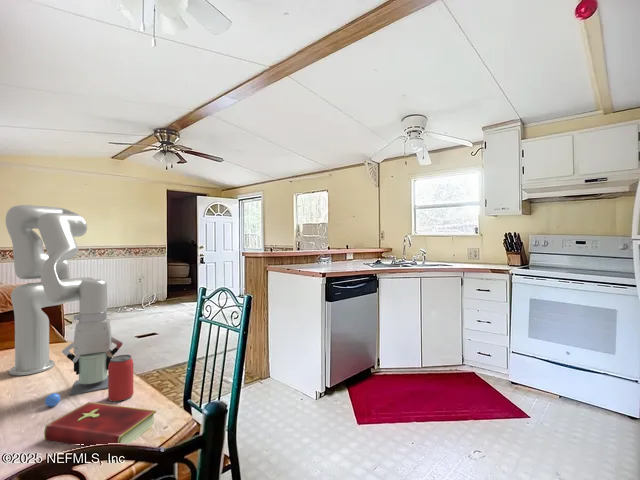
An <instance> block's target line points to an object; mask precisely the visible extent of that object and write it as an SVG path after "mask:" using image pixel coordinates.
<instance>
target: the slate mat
mask: <svg viewBox="0 0 640 480" xmlns="http://www.w3.org/2000/svg"><path fill="white" fill-rule="evenodd" d="M107 389H108V375H107V378H106V379H104V380H103V381H100V382H97V383H92V384H81V383H79V379H78V380H75V381H74V384H73V386H72V388H71V391H70V393H69V396H74V395H81V394H86V393H92V392H98V391H102V390H107Z"/></svg>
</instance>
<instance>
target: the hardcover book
mask: <svg viewBox="0 0 640 480" xmlns="http://www.w3.org/2000/svg"><path fill="white" fill-rule="evenodd" d="M156 413H157V410H154V409H145V408H137V407H130V406H123V405H122V406H121V405H115V404H106V403H100V402H99V403H98V402H93V401H89V402H87V403H85V404H83V405H80V406H79V407H77V408H75V409H74V410H71V411H69V412H68V413H66V414H65V415H64V414H63V416H61V417H59V418H57V419H55V420H53V421H51V422H50V423H49V422H48V423H47V424H46V425H45V427H44V433H43V434H44V435H43V436H44V440H45V441H46V442H47V441H48V442H54V443H60V444H65V445H71V444H80V445H78V446H79V447H84V446H90V445H96V444H108V443H125V444H128V445H130V444H131V443H132V442H133V441H135V440H136V439H137V438H139V437H140V436H141V435H142V434H144V433H145V432H146V431H147V430H149V429H150V428H151V427H152V426H154V424H155V423H154V420H155V415H154V414H156ZM81 444H84V445H81ZM84 448H85V447H84Z"/></svg>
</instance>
